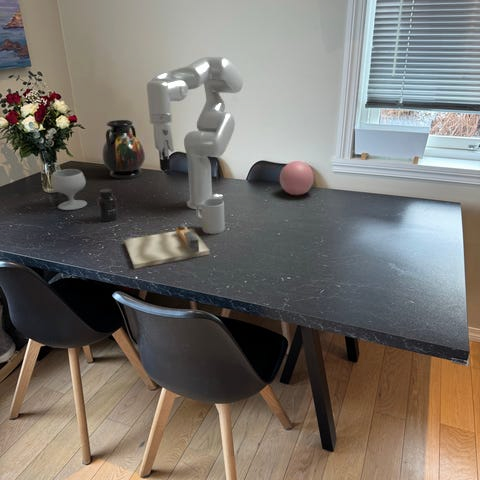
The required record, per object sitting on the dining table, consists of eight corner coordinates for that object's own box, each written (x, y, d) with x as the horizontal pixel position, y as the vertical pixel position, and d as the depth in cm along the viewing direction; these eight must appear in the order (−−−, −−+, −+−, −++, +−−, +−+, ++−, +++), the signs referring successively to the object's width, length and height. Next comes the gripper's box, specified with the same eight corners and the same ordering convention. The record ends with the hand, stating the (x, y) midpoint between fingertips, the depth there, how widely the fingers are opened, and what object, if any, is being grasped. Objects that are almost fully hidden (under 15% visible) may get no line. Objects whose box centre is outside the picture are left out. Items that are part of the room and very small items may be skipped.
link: (174, 232, 155) (174, 227, 154) (185, 230, 157) (185, 225, 156) (186, 247, 144) (186, 242, 143) (197, 245, 145) (197, 240, 144)
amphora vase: (125, 183, 215) (118, 127, 203) (96, 177, 226) (88, 123, 214) (155, 173, 232) (149, 120, 220) (127, 167, 242) (120, 117, 230)
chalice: (57, 213, 178) (50, 179, 172) (54, 203, 190) (47, 170, 183) (92, 208, 184) (86, 174, 178) (86, 198, 195) (81, 166, 189)
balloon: (318, 188, 205) (321, 156, 198) (307, 201, 188) (309, 167, 182) (288, 184, 210) (289, 154, 204) (274, 197, 194) (275, 164, 187)
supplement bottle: (113, 222, 169) (109, 193, 164) (97, 221, 170) (93, 192, 165) (121, 216, 175) (117, 188, 170) (106, 215, 176) (101, 187, 171)
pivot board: (192, 232, 160) (191, 217, 157) (209, 254, 143) (209, 238, 141) (124, 243, 151) (122, 228, 149) (134, 268, 134) (132, 252, 132)
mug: (229, 228, 163) (228, 200, 158) (216, 235, 156) (215, 207, 152) (203, 221, 169) (202, 195, 164) (190, 229, 162) (188, 202, 158)
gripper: (176, 120, 144) (180, 173, 152) (166, 114, 157) (170, 163, 165) (154, 122, 142) (159, 176, 150) (145, 116, 154) (150, 165, 162)
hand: (165, 169), depth 157 cm, fingers closed
